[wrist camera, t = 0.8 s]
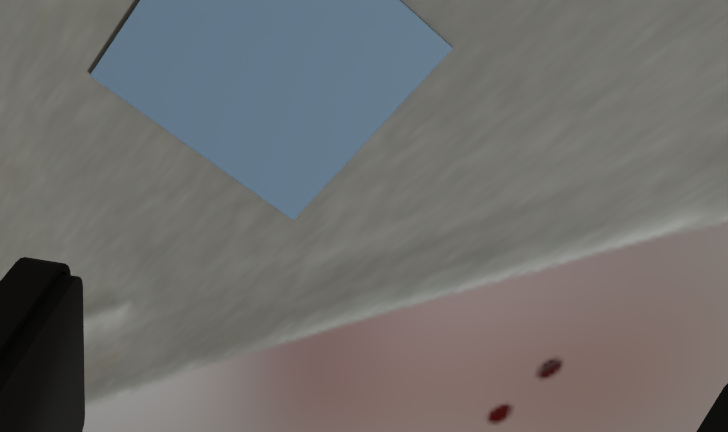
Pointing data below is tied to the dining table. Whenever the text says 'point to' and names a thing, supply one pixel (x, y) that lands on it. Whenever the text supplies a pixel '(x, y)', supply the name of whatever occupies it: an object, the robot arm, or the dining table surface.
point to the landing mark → (271, 82)
